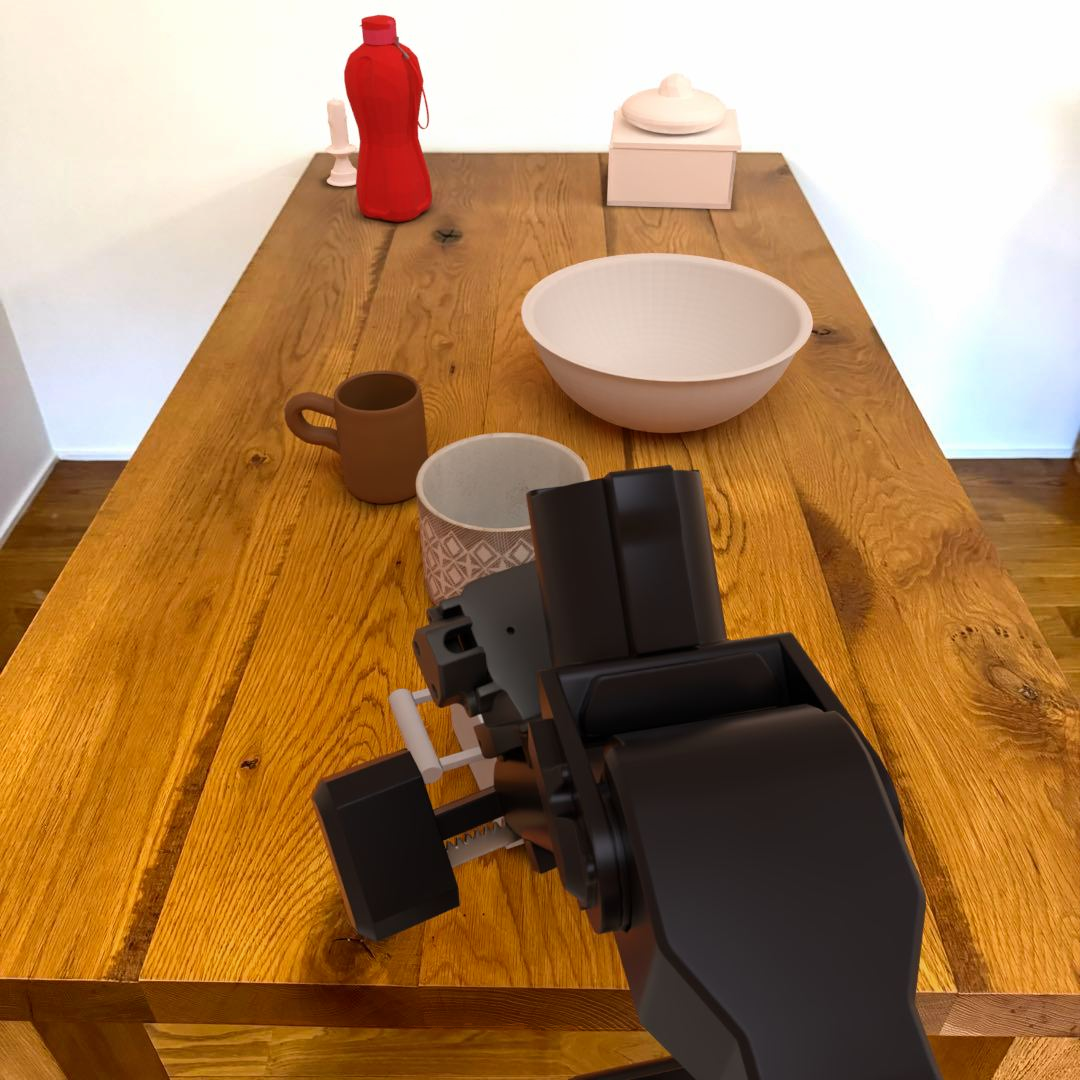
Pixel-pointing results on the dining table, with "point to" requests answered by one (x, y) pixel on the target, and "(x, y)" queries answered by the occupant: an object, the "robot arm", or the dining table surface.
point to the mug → (370, 432)
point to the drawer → (423, 749)
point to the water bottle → (387, 123)
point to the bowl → (665, 337)
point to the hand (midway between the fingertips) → (498, 762)
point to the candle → (340, 146)
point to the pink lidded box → (673, 149)
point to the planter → (484, 505)
